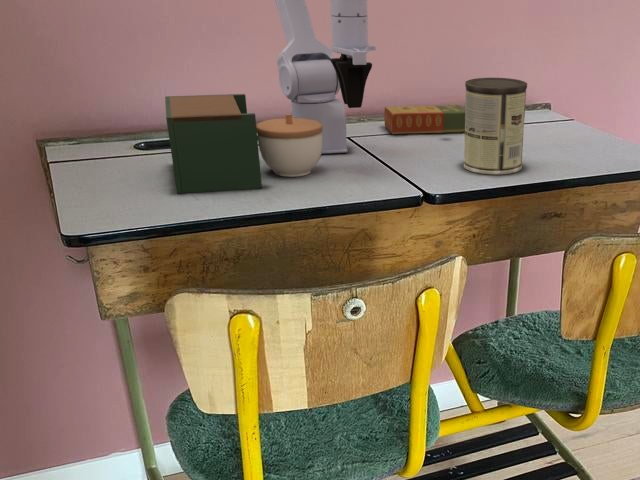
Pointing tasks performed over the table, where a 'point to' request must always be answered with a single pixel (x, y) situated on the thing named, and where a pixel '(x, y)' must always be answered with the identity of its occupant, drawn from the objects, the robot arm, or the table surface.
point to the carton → (425, 119)
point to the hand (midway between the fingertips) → (352, 105)
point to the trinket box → (290, 144)
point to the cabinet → (213, 143)
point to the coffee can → (494, 125)
